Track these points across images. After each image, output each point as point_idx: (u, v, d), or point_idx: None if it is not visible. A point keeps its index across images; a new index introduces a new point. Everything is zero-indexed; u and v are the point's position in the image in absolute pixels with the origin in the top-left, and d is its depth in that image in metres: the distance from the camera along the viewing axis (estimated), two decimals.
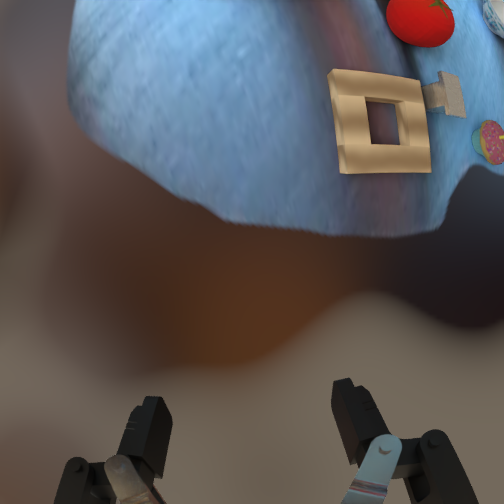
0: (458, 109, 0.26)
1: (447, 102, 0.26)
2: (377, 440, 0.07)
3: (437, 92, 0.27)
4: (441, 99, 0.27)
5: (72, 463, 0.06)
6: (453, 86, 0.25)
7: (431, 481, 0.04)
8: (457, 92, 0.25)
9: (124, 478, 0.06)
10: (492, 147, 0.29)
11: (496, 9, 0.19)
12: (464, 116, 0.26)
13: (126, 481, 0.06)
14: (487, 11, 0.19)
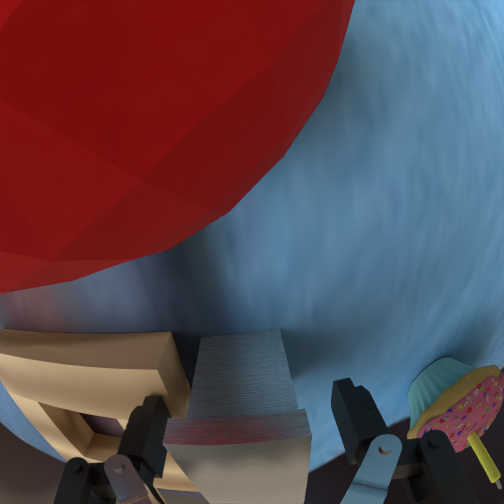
0: (263, 502, 0.07)
1: (206, 496, 0.07)
2: (377, 440, 0.07)
3: None
4: None
5: (72, 463, 0.06)
6: (249, 474, 0.06)
7: (431, 481, 0.04)
8: (278, 478, 0.07)
9: (124, 478, 0.06)
10: None
11: None
12: (294, 503, 0.08)
13: (126, 481, 0.06)
14: None
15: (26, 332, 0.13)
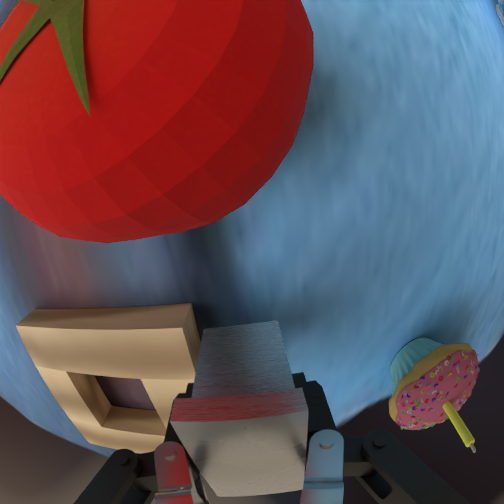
0: (263, 487, 0.08)
1: (209, 481, 0.08)
2: (319, 434, 0.08)
3: None
4: None
5: (120, 455, 0.07)
6: (250, 453, 0.07)
7: (389, 480, 0.05)
8: (277, 459, 0.07)
9: (171, 466, 0.07)
10: (410, 424, 0.14)
11: None
12: (293, 489, 0.09)
13: (181, 467, 0.07)
14: None
15: (60, 310, 0.17)
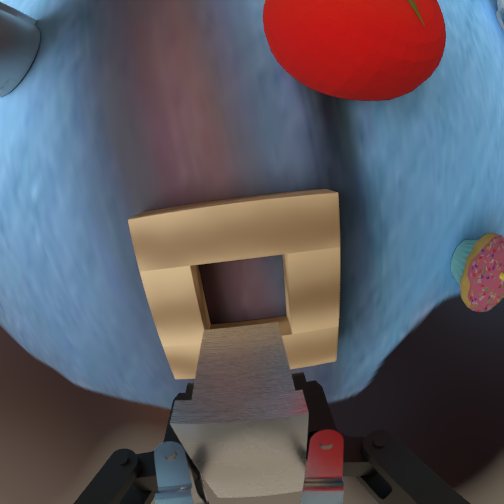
0: (263, 488, 0.08)
1: (209, 482, 0.08)
2: (319, 434, 0.08)
3: None
4: None
5: (120, 455, 0.07)
6: (250, 455, 0.07)
7: (389, 480, 0.05)
8: (277, 461, 0.07)
9: (171, 466, 0.07)
10: (480, 296, 0.18)
11: None
12: (293, 490, 0.09)
13: (181, 467, 0.07)
14: None
15: (183, 205, 0.21)
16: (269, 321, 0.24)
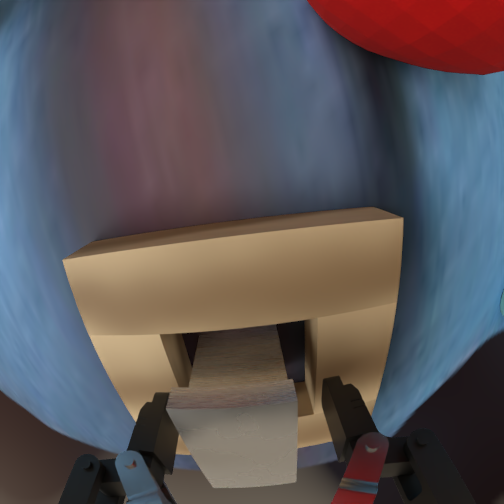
0: (257, 479, 0.09)
1: (204, 471, 0.09)
2: (364, 438, 0.07)
3: None
4: None
5: (83, 460, 0.06)
6: (243, 443, 0.08)
7: (422, 480, 0.05)
8: (269, 450, 0.08)
9: (134, 474, 0.06)
10: None
11: None
12: (286, 482, 0.09)
13: (138, 477, 0.06)
14: None
15: (149, 233, 0.13)
16: None
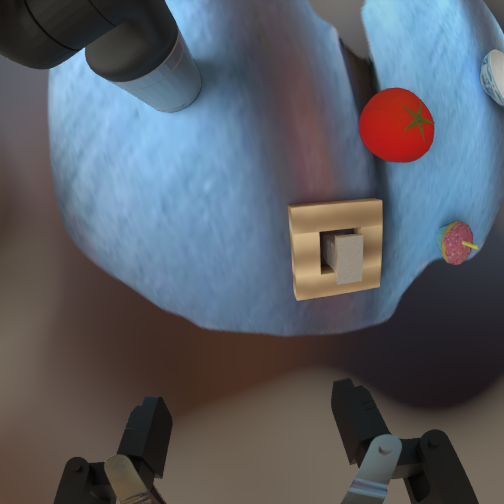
0: (351, 275, 0.37)
1: (337, 272, 0.37)
2: (377, 440, 0.07)
3: (333, 255, 0.38)
4: (334, 265, 0.38)
5: (72, 463, 0.06)
6: (351, 251, 0.36)
7: (431, 481, 0.04)
8: (356, 255, 0.36)
9: (123, 478, 0.06)
10: (452, 253, 0.39)
11: (497, 65, 0.28)
12: (359, 279, 0.38)
13: (126, 481, 0.06)
14: (485, 75, 0.29)
15: (310, 203, 0.41)
16: None
